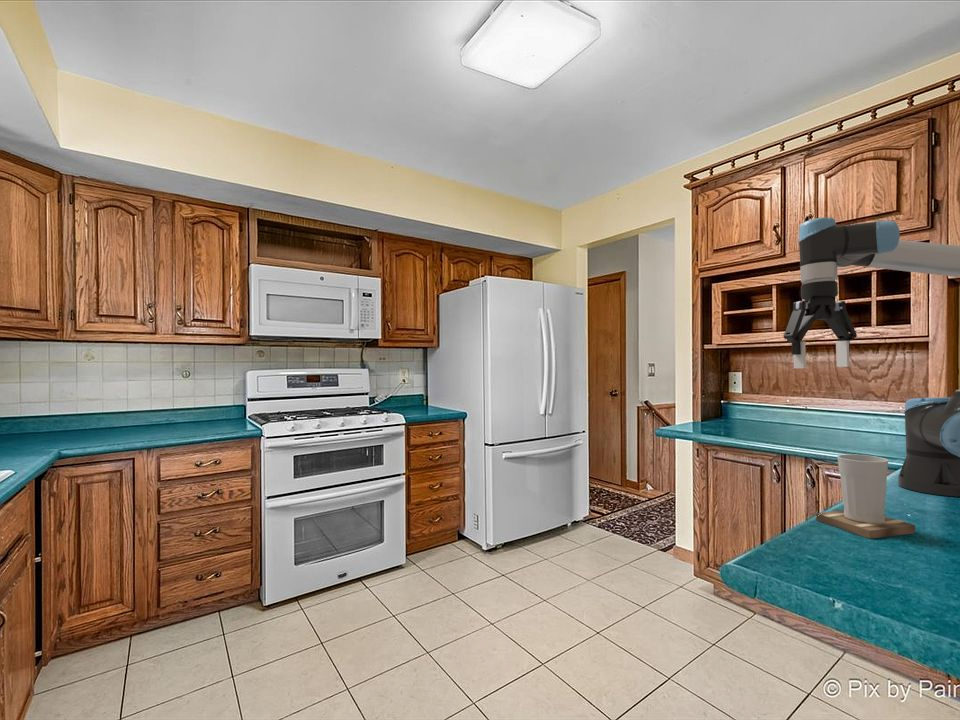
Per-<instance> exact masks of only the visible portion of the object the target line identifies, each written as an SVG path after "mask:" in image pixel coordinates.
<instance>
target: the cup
mask: <svg viewBox="0 0 960 720" xmlns="http://www.w3.org/2000/svg"><path fill="white" fill-rule="evenodd" d="M836 458H837V464H838V470H839V475H840V484H841V492H842V501H843V510H844V516H845V517H846V518H848V519H851V520H855V521H859V522H865V523H883V522H885V517H886V516H885V510H886V495H887V494H886V492H887V482H888V481H887V480H888V479H887V478H888V468H889V459H887V458H884V457H880V456H876V455H868V454H852V453H851V454H838V455H837V457H836ZM884 516H885V517H884Z"/></svg>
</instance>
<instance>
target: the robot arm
mask: <svg viewBox="0 0 960 720" xmlns="http://www.w3.org/2000/svg"><path fill="white" fill-rule="evenodd" d="M899 227H900V226H899V225H898V223H897V221H894V220H880V221H879V220H877V221H870V222H862V223H855V224H847V225H845V224H844V225H843V224H842V225H840V224H839V225H837V223H836V219H835V218H834V217H818V218H817V217H816V218H812V219H809V220H807V221H803V222H802V223H801V224H800V226H799V228H798V230H799V231H798V241H797V243H798V247H799V248H798V249H799V267H800V268H799V271H800V283H802V284H801V286H800V298H801V299H802V300H799V301H794V302H793V303H792V304H793V305H792V312H791V315H790V318H789V321H788V323H787V326H786V329H785V331H784V334H783V339H784V340H786V341H787V343H791V354H792V356H793V369H807V359H806V357H807V356H806V352H807V351H806V341H803V339H804V338H805V336H806V334H807V333H808V331H809V330H810V328H811V326H812V325H813V323H814V321H817V320H818V321H823V322H825V323H826V324H827V326H828V327H829V328H830V329H831V331H832V332H833V334H834V336H835V337H836V338H837V340H836V341H835V354H836V367H837V368H838V367H839V368H843V367H844V368H850V367H851V366H850V364H851V363H850V362H851V361H850V353H851V346H850V345H851V343H850V341H854V340H855V339H856V338H857V337H858V334H857V332H856V330H855V327H854V324H853V323H852V320H851V318H850V317H851V316H850V315H849V313H848V310H847V304H846V301H845V300H841V301H835V298H836V297H837V296H838V295H839V287H838V282H837V281H836V280H837V279H838V276H839V275H838V268H845V267H850V266H855V267H864V268H866V267H867V268H875V269H882V270H892V271H902V272H908V273H917V274H918V273H919V274H928V275H929V274H930V275H937V276H944V277H946V276H947V277H954V278H960V245H956V244H945V243H936V242H935V243H934V242H924V241H923V242H922V241H914V240H911V241H910V240H905V239H904V240H902V239H900V237H901V236H900V235H901V233H900V228H899ZM903 414H904V427H905V428H904V430H905V452H906V453H905V458H904V460H903V461H904V462H903V464H902V466H901V468H900V471H899V474H898V478H897V480H898V486H900V487H901V488H904V489H907V490H910V491H914V492H919V493H924V494H930V495H937V496H947V497H957V498H959V497H960V389H956V390H955V391H954V392H953V394H952V395H951V397H917V398H915V397H914V398H909V399H908V400H906V402H905V403H904V411H903Z"/></svg>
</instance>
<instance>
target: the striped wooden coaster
mask: <svg viewBox="0 0 960 720" xmlns="http://www.w3.org/2000/svg"><path fill="white" fill-rule="evenodd" d="M821 513H822V514H821ZM819 514H820V515H819ZM818 515H819V516H818ZM816 516H817V517H816ZM884 517H885V522H883V523H865V522H859V521H855V520H851V519H848V518H846V517H845V516H844V509H842V510H832V511H825V512H824V511H823V512H817V513H816V512H815V520H816V521H817V522H819V523H822V522H824V523H823V524H825V523H826V524H825V525H828V524H829V526H831V525H833V526H832V527H834V526H836V527H835V528H837V527H838V528H837V529H840V528H841V529H840V530H843V531H847V532H849V533H851V534H854V535H858V536H861V537H864V538H867V539H870V540H871V539H878V538H887V537H893V536H894V537H895V536H901V535H910V534H916V525H915V524H913V523H909V522H906V520H902V519H896V518H891V517H889V516H885V515H884Z"/></svg>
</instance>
